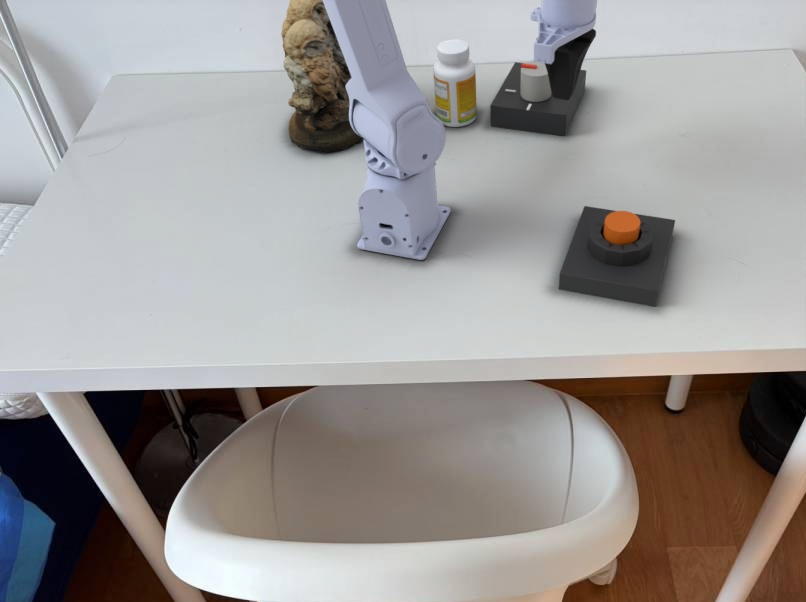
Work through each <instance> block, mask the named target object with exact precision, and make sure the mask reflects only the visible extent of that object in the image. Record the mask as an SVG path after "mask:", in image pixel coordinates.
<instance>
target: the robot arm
mask: <svg viewBox="0 0 806 602" xmlns="http://www.w3.org/2000/svg"><path fill="white" fill-rule="evenodd" d="M323 3H324V6H325V8H326V11H327V14H328V16H329V19H330V21H331V24H332V27H333V29H334V32H335V35H336V37H337V40H338V43H339V45H340V48H341V50H342V53H343V56H344V58H345V61H346V64H347V66H348V69H349V72H350V74H351V77H352V78H351V79H350V80H349V81H348V83H347V84H346V86H345V87H346V90H347V93H348V96H349V101H350V107H349V121H350V124H351V127H352V129H353V130H354V132H355V133H356V134H357V135H359V136H360V137H362V138H364V139H363V140H362V141H363V147H364V156H365V165H366V180H365V184H364V187H363V189H362V191H361V193H360V195H359V198H358V202H357V208H358V214H359V221H360V226H361V233H362V235H361V237H360V239H359V241H358V242H357V244H356V246H357V248H358V249H359V250H363V251H369V252H374V253H380V254H386V255H390V256H396V257H402V258H406V259H413V260H418V261H423V260H425V259H426V258H427V256H428V254H429V252H430V251H431V248H432V247H433V246H434V243H435V242H436V239H437V237H438V236H439V235H440V233H441V230H442V228H443V226H444V225H445V223H446V221H447V219H448V218H449V216H450V214H451V211H452V210H451V207H449V206H446V205H439V203H438V193H437V192H438V191H437V178H436V166H437V161H438V160H439V159H440V157H441V155H442V153H443V151H444V148H445V145H446V141H447V139H446V136H447V134H446V130H445V125H443V124H442V122H441V121H440V119H439V118H437V115H435V114H434V113H433V112H432V110H431V108H430V105H429V102H428V100H427V97H426V96H425V94H424V93H423V91H422V90H421V88H420V87H419V86H418V84H417V82H416V81H415V80H414V78H413V77H412V76H411V74H410V73H409V70H408V68H407V65H406V62H405V59H404V54H403V52H402V48H401V46H400V42H399V40H398V35H397V33H396V29H395V26H394V22H393V20H392V16H391V13H390V11H389V7H388V5H387V0H323ZM540 6H541V7H535V8H534V9H533V10H532V11H531V12H530V20H531V21H533V22H537V23H538V27H537V28H538V29H537V30H538V31H537V37H536V40H535V42H534V43H533V61H536V62H541V63H545V66H546V69H547V73H548V77H549V82H550V88H551V92H552V96H553V97H554V98H559V99H564V100H569V99H570V98H571V97H572V95H573V93H574V90H575V87H576V84H577V80H578V77H579V73H580V70H582V66H583V63H584V60H585V58H586V56H587V54H588V51H589V49H590V47H591V45H592V44H593V42H594V40H595V38H596V36H597V30H596V29H594V28H595V26H596V23H597V22H596V21H597V6H598V0H541V4H540Z"/></svg>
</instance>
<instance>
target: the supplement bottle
mask: <svg viewBox="0 0 806 602" xmlns="http://www.w3.org/2000/svg"><path fill="white" fill-rule="evenodd" d="M436 49H437V51H436V53H437V59H438V60H437V61H435V63H434V64H433V68H432V70H433V71H432V72H433V84H434V86H433V87H434V101H435V113H436V117H437V118H439V119H440V121H441V122H442V124H443V126H445V127H450V128H459V127H465V126H468V125H470V124H472V123H474V121H475V120H476V118H477V115H478V110H477V109H478V107H477V80H476V79H477V78H476V65H475V63H474V61H473V60H472V59H471V58H470V45H469V43H468V42H467V41H465V40H463V39H459V38H458V39H457V38H456V39H447V40H443V41H441V42H439V44H438V45H437V47H436Z"/></svg>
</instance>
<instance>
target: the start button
mask: <svg viewBox="0 0 806 602" xmlns="http://www.w3.org/2000/svg"><path fill="white" fill-rule="evenodd" d="M614 211H615V212H612V213H610V214H609V215H607V217H606V218H605V223H604V232H603V235H604V237H605V239H606V240H607V241H609V242H611V243H612V244H619V245H627V244H632V243H634V242H635V241H636V240H637V239H638V236H639V230H640V219H639V218H638V216H636V215H635V214H636V213H633V212H632V211H628V210H614Z"/></svg>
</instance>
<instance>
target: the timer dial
mask: <svg viewBox="0 0 806 602" xmlns="http://www.w3.org/2000/svg"><path fill="white" fill-rule="evenodd" d="M521 63H522V65H521V87H520V95H521V97H522V98H523V99H525V100H527V101H531V102H540V101H544V100H547V99H548V98H550V96H551V88H550V82H549V77H548V73H547V69H546V66H545V63H541V62H536V61H534V60H532V61H528V62H521ZM523 63H525V64H523Z"/></svg>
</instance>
